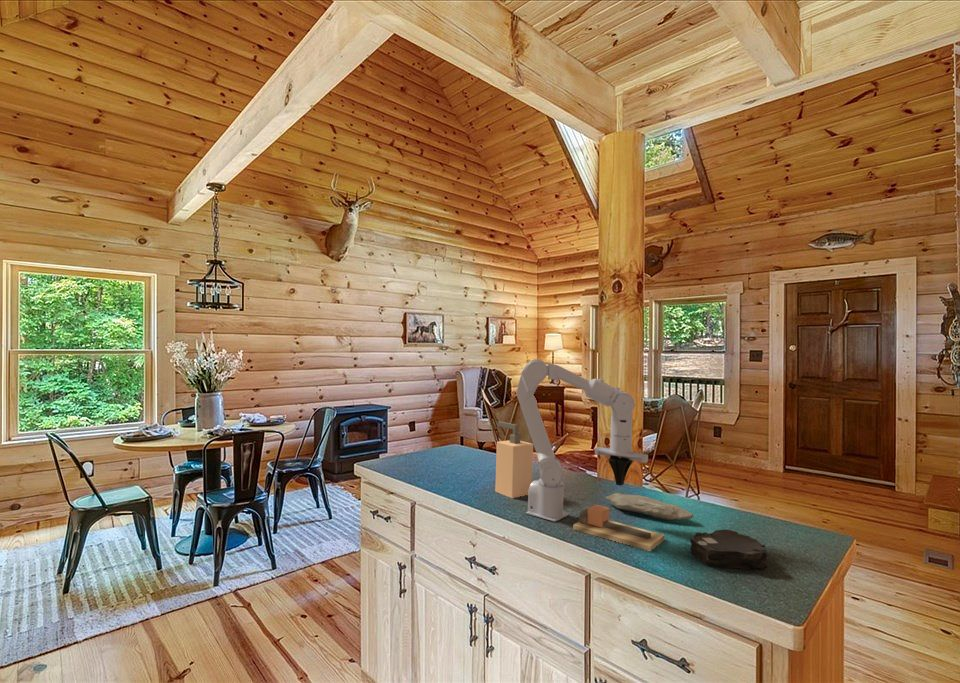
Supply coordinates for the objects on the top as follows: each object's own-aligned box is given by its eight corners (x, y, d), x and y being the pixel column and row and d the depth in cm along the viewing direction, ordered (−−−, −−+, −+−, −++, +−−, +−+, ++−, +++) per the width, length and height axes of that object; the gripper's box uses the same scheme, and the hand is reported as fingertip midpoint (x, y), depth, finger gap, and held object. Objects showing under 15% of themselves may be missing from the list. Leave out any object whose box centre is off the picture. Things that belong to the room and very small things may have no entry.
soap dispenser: (532, 494, 154) (534, 425, 154) (512, 498, 149) (514, 427, 149) (506, 484, 164) (508, 420, 165) (487, 488, 159) (489, 422, 160)
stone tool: (615, 485, 151) (699, 502, 135) (615, 501, 151) (699, 520, 134) (599, 492, 142) (686, 511, 126) (598, 509, 142) (686, 531, 126)
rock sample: (707, 540, 120) (707, 520, 120) (778, 560, 109) (779, 538, 110) (679, 560, 108) (680, 538, 108) (757, 585, 97) (758, 560, 97)
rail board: (573, 529, 124) (573, 513, 124) (590, 519, 132) (591, 505, 132) (650, 551, 111) (650, 534, 111) (664, 539, 119) (664, 523, 119)
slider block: (587, 523, 124) (587, 508, 124) (595, 519, 128) (595, 504, 128) (601, 527, 122) (601, 512, 122) (609, 522, 125) (609, 507, 125)
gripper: (652, 437, 131) (651, 487, 130) (602, 430, 140) (601, 476, 140) (643, 440, 125) (641, 492, 125) (592, 432, 134) (590, 481, 134)
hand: (619, 484), depth 132 cm, fingers closed
